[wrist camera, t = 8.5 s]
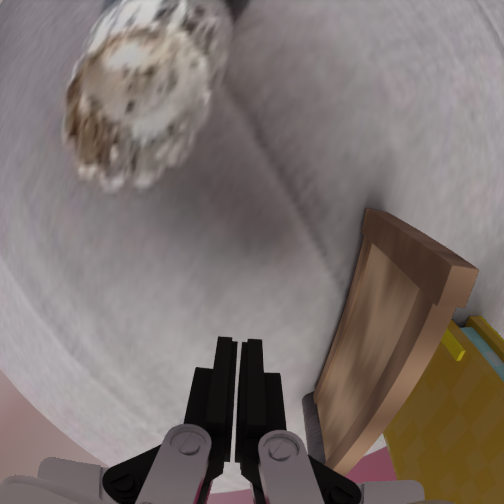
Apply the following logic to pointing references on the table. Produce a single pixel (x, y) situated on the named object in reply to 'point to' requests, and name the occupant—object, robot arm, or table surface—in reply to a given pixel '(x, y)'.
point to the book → (455, 419)
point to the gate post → (313, 429)
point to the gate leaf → (386, 333)
